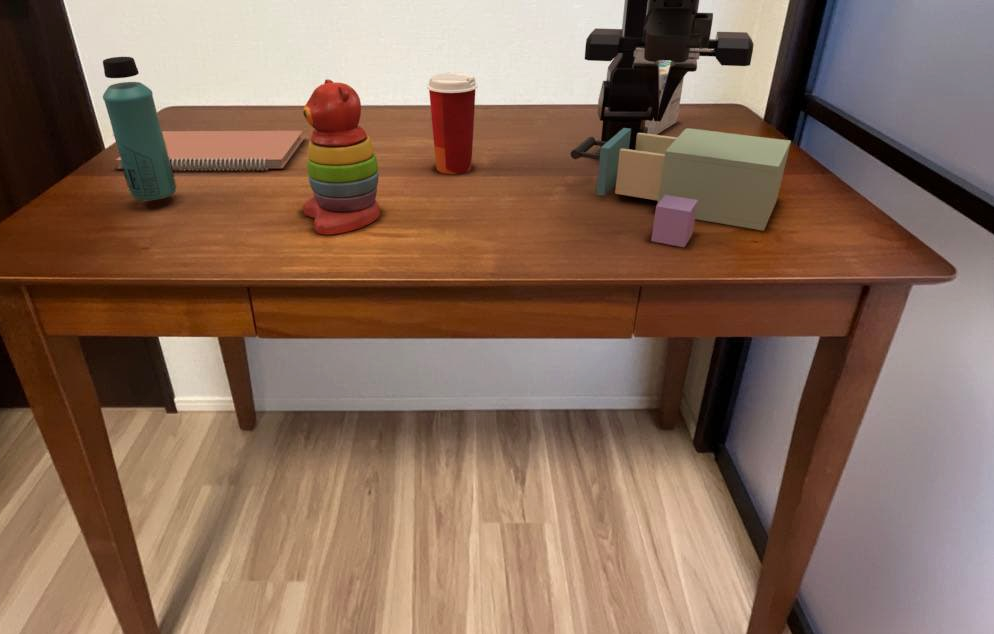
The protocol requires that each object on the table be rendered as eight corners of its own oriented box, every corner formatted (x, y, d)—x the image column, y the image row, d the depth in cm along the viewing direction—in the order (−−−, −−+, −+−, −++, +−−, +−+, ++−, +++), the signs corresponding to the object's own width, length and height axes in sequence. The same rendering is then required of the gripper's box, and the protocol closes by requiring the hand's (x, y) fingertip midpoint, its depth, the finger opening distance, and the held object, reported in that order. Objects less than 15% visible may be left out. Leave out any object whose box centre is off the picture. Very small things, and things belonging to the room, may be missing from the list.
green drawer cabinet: (656, 212, 98) (665, 150, 94) (677, 185, 107) (686, 127, 102) (763, 231, 93) (778, 166, 88) (776, 201, 101) (791, 140, 97)
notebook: (115, 172, 116) (111, 160, 115) (155, 140, 130) (153, 129, 129) (281, 172, 115) (279, 159, 114) (304, 140, 129) (302, 129, 128)
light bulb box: (644, 117, 138) (652, 58, 132) (678, 122, 134) (687, 62, 128) (620, 131, 131) (627, 69, 125) (655, 137, 127) (664, 73, 121)
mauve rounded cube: (651, 241, 91) (656, 205, 88) (659, 229, 94) (665, 194, 91) (684, 247, 89) (690, 211, 86) (692, 235, 92) (698, 199, 89)
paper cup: (485, 164, 116) (485, 74, 109) (465, 179, 111) (464, 85, 103) (442, 158, 119) (439, 70, 112) (420, 172, 113) (416, 80, 106)
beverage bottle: (189, 197, 106) (155, 53, 95) (159, 213, 101) (120, 64, 90) (153, 192, 108) (116, 51, 97) (122, 208, 103) (79, 61, 92)
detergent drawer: (564, 189, 104) (567, 142, 100) (588, 167, 112) (591, 123, 108) (688, 209, 97) (696, 160, 93) (704, 185, 104) (713, 138, 101)
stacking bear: (300, 209, 101) (281, 78, 92) (368, 197, 105) (357, 70, 95) (318, 237, 93) (300, 97, 83) (392, 224, 96) (382, 87, 87)
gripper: (584, -13, 76) (574, 134, 85) (770, -11, 72) (740, 144, 80) (595, -24, 85) (585, 110, 94) (761, -22, 81) (734, 118, 89)
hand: (657, 120), depth 89 cm, fingers closed
